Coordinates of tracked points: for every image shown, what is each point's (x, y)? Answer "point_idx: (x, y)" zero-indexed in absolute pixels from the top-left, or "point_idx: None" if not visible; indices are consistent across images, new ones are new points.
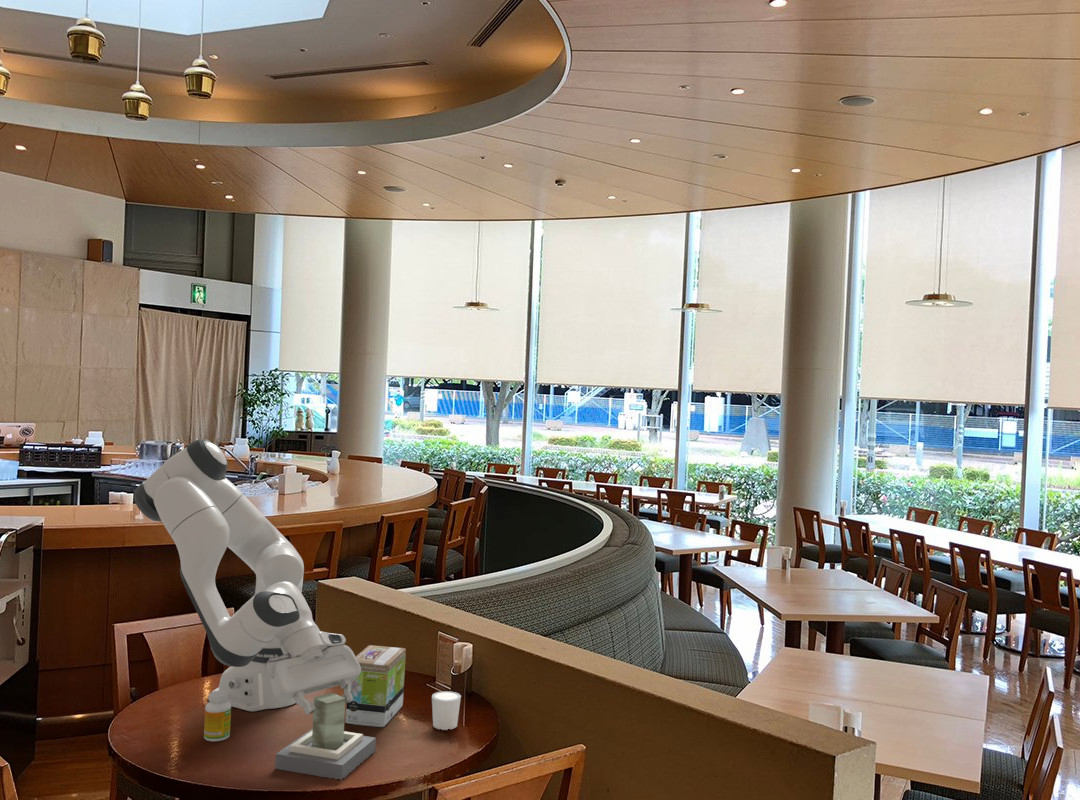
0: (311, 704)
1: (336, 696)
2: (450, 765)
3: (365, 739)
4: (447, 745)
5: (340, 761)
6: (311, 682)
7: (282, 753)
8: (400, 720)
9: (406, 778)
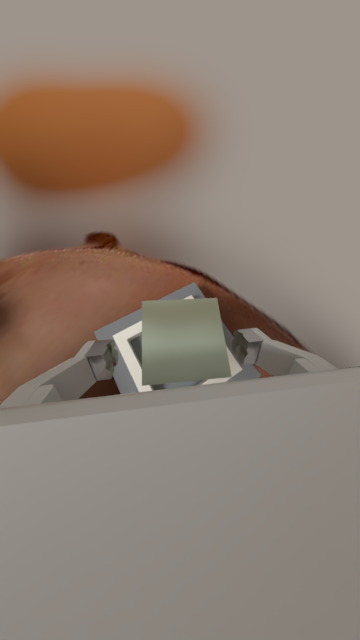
0: (252, 336)
1: (155, 335)
2: (69, 249)
3: (111, 336)
4: (15, 291)
5: (190, 292)
6: (295, 392)
7: (250, 370)
8: None
9: (131, 254)
